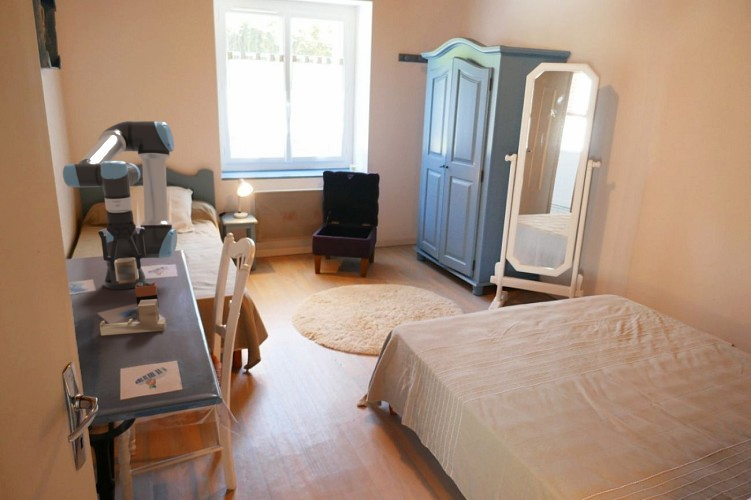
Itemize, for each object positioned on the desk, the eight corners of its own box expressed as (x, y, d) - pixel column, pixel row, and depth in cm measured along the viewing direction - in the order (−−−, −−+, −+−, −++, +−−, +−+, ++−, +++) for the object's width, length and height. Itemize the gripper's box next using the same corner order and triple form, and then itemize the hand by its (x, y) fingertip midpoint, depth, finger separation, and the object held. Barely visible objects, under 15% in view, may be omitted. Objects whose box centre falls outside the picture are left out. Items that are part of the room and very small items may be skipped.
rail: (104, 330, 168) (100, 303, 165) (166, 325, 172) (163, 298, 170) (100, 336, 163) (96, 309, 161) (164, 331, 168) (161, 304, 165)
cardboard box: (136, 277, 175) (134, 257, 173) (135, 282, 170) (133, 262, 168) (120, 278, 173) (117, 258, 171) (118, 284, 168) (115, 263, 166)
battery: (158, 309, 185) (155, 283, 182) (137, 312, 183) (134, 285, 180) (158, 305, 189) (156, 279, 186) (138, 307, 186) (135, 281, 184)
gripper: (85, 214, 159) (95, 285, 166) (149, 210, 165) (156, 279, 172) (89, 209, 166) (98, 278, 172) (150, 206, 172) (157, 272, 178)
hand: (127, 278), depth 172 cm, fingers closed on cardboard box, 5 cm apart
